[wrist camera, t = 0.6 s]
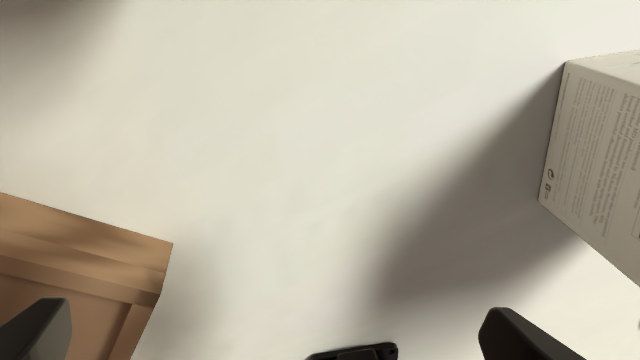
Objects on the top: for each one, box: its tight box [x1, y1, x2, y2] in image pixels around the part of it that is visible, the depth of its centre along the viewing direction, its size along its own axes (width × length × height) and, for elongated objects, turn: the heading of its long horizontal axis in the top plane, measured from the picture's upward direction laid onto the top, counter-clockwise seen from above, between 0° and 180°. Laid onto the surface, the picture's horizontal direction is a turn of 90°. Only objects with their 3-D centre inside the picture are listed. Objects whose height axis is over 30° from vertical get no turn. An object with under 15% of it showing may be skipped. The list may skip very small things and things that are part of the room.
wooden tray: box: [0, 192, 173, 360], centre depth 21 cm, size 13×17×4 cm
